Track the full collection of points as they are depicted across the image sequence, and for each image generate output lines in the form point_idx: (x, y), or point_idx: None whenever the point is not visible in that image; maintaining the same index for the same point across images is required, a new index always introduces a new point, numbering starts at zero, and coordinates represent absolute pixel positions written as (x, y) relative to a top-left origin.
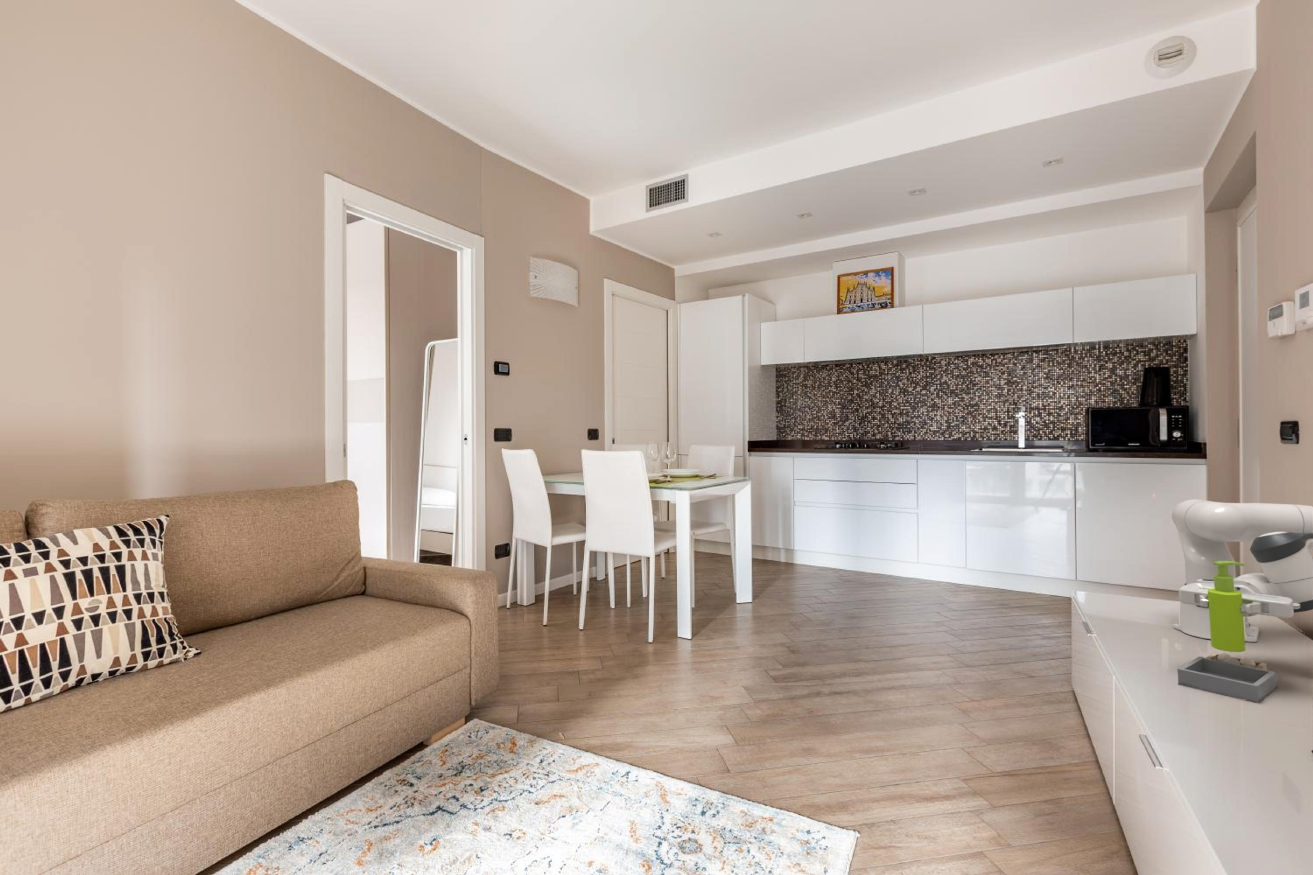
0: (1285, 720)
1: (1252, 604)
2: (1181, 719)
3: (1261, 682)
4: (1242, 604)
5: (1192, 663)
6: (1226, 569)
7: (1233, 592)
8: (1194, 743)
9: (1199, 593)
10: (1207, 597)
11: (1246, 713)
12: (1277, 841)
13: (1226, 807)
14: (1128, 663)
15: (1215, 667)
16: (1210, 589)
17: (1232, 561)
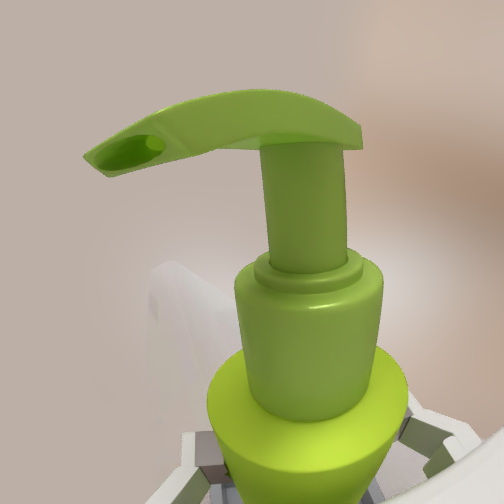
0: (167, 434)
1: (175, 471)
2: None
3: (212, 499)
4: (216, 441)
5: (375, 499)
6: (266, 194)
7: (241, 372)
8: (219, 318)
9: (491, 435)
10: (445, 457)
11: None
12: (158, 274)
13: (179, 278)
14: None
15: None
16: (378, 355)
17: (245, 97)
